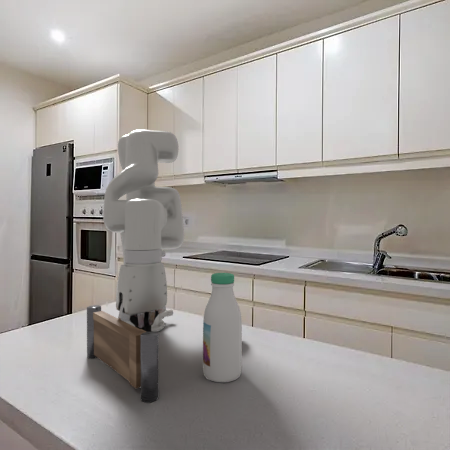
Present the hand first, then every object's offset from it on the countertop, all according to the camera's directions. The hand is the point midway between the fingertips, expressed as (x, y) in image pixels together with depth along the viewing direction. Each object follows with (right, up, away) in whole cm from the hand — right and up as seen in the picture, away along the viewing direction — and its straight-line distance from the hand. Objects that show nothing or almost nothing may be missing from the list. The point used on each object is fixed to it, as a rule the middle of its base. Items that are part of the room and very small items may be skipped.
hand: (143, 343), depth 69 cm
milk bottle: (+17, -5, -4) cm, 18 cm away
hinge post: (-12, -4, +4) cm, 13 cm away
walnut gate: (-4, -3, -4) cm, 7 cm away
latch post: (+4, -5, -13) cm, 14 cm away
